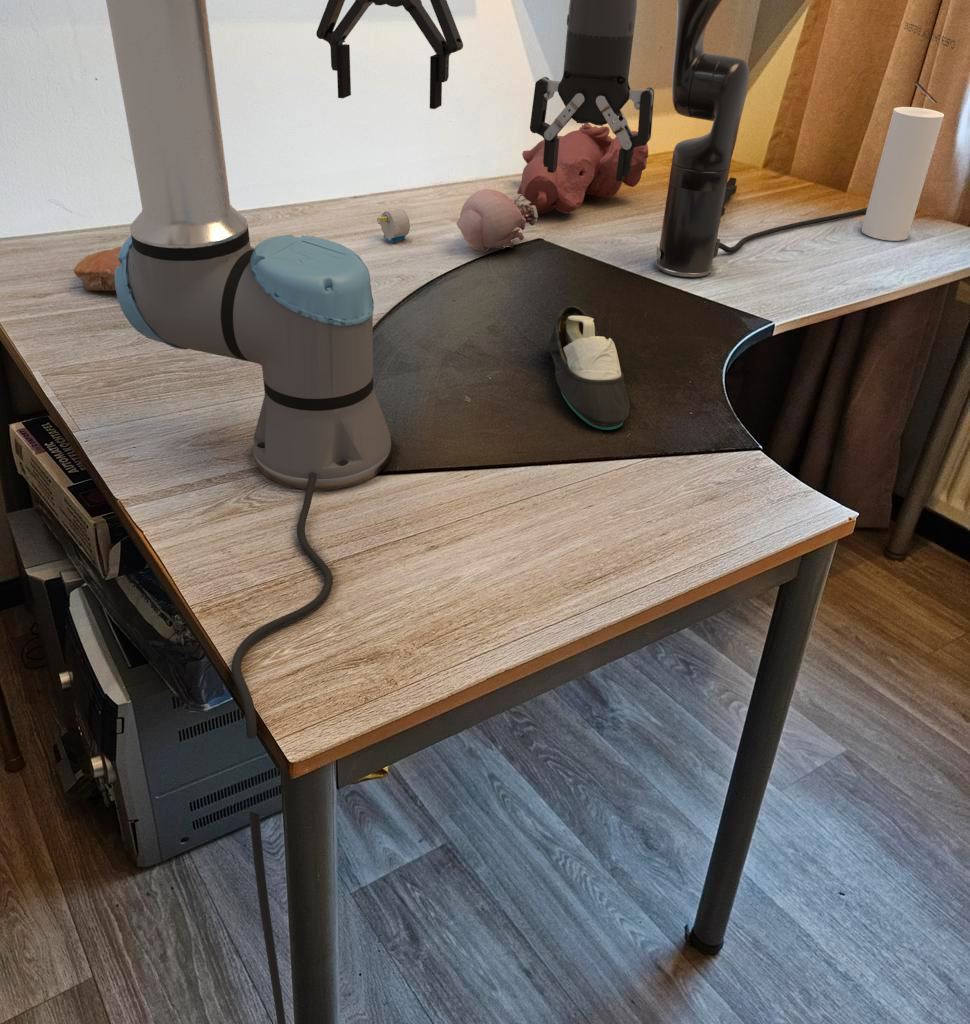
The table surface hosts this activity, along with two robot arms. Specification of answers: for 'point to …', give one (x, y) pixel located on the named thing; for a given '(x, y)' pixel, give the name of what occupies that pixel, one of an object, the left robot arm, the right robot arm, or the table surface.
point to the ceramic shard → (99, 270)
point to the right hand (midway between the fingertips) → (585, 175)
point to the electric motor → (394, 225)
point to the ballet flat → (588, 370)
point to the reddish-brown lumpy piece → (578, 170)
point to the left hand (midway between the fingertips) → (389, 102)
